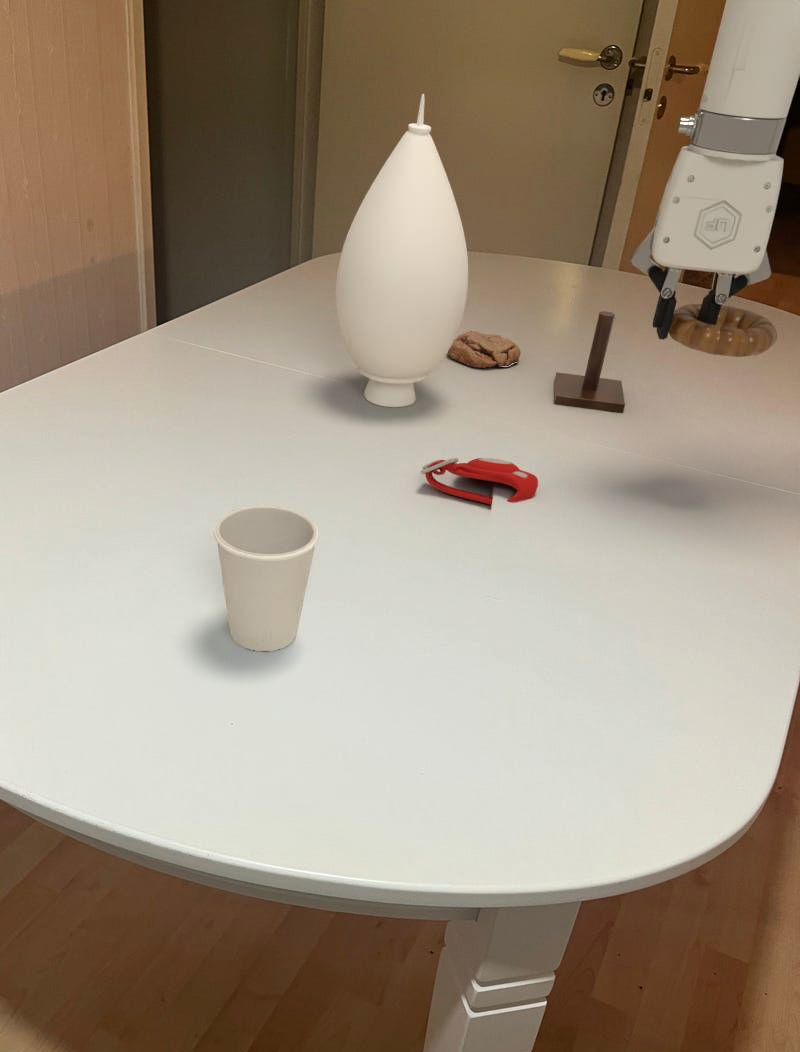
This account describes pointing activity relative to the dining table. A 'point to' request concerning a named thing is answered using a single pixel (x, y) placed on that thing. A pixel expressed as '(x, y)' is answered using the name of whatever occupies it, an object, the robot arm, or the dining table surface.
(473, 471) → the tracker holder
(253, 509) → the dixie cup
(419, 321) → the lamp
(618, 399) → the peg
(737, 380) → the dining table surface
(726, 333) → the ring
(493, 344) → the cookie
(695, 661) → the dining table surface
